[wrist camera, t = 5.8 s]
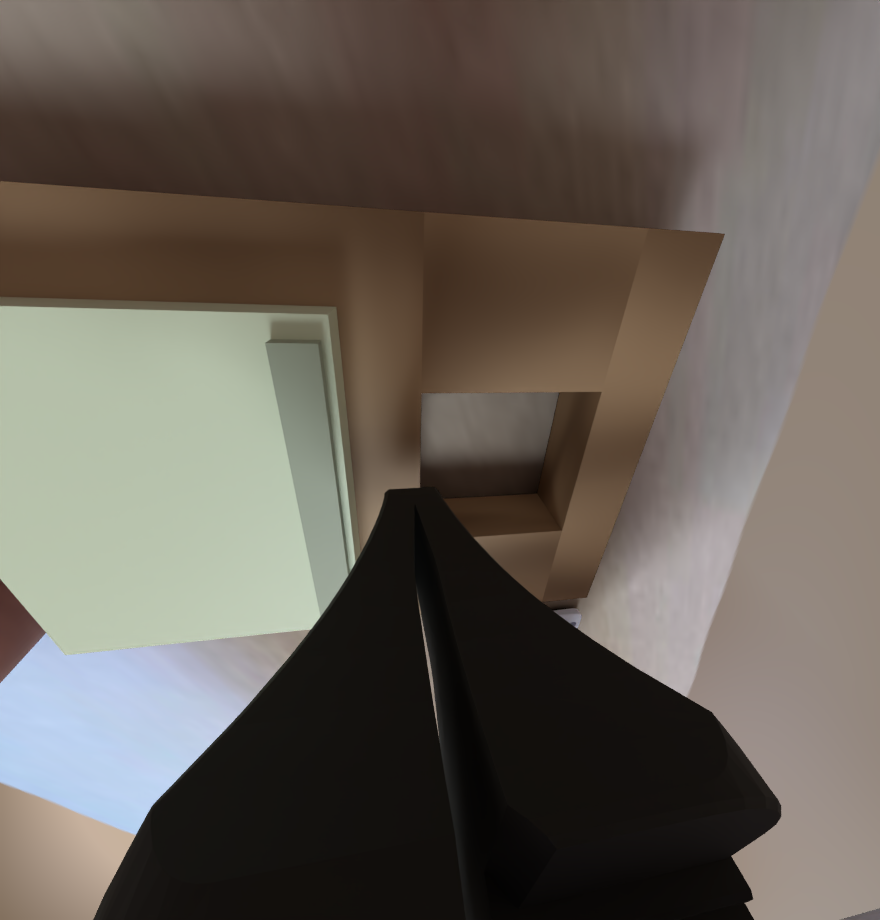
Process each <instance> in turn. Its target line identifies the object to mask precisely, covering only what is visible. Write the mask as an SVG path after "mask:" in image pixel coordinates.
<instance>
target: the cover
mask: <svg viewBox="0 0 880 920" xmlns="http://www.w3.org/2000/svg"><path fill="white" fill-rule="evenodd" d="M360 553H361V552H360V542H359V532H358V522H357V511H356V501H355V491H354V481H353V471H352V461H351V451H350V441H349V430H348V420H347V410H346V400H345V390H344V380H343V370H342V359H341V349H340V339H339V329H338V319H337V309H336V307H328V306H295V305H261V304H227V303H194V302H160V301H126V300H92V299H59V298H25V297H0V579H1V580H2V582H3V583H4V584H5V585H6V586H7V587H8V589H9V590H10V591H11V592H12V593H13V594H14V596H15V597H16V598H17V599H18V600H19V602H20V603H21V604H22V605H23V606H24V607H25V609H26V610H27V611H28V612H29V613H30V614H31V616H32V617H33V618H34V619H35V620H36V621H37V623H38V624H39V625H40V626H41V627H42V629H43V630H44V631H45V632H46V633H47V634H48V636H49V637H50V638H51V639H52V640H53V641H54V643H55V644H56V645H57V646H58V647H59V648H60V650H61V651H62V652H63V653H64V654H65V655H72V654H81V653H91V652H100V651H110V650H119V649H129V648H138V647H147V646H157V645H166V644H176V643H185V642H195V641H204V640H213V639H223V638H232V637H242V636H251V635H261V634H270V633H279V632H289V631H298V630H308V629H312V627H313V626H314V625H315V623H316V622H317V621H318V619H319V618H320V617H321V615H322V614H323V613H324V611H325V610H326V608H327V607H328V606H329V604H330V603H331V601H332V600H333V598H334V597H335V595H336V594H337V592H338V591H339V589H340V588H341V586H342V584H343V583H344V581H345V580H346V578H347V576H348V575H349V573H350V571H351V570H352V568H353V566H354V564H355V562H356V561H357V559H358V557H359V555H360Z"/></svg>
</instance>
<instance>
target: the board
mask: <svg viewBox="0 0 880 920" xmlns="http://www.w3.org/2000/svg"><path fill="white" fill-rule="evenodd" d="M724 235H725V234H721V233H707V232H694V231H680V230H666V229H652V228H638V227H625V226H611V225H597V224H583V223H570V222H556V221H542V220H528V219H515V218H501V217H487V216H473V215H460V214H446V213H432V212H418V211H405V210H391V209H377V208H363V207H349V206H336V205H322V204H308V203H294V202H281V201H267V200H253V199H239V198H226V197H212V196H198V195H184V194H171V193H157V192H143V191H129V190H116V189H102V188H88V187H74V186H60V185H47V184H33V183H19V182H5V181H0V297H25V298H59V299H92V300H126V301H160V302H194V303H227V304H261V305H295V306H328V307H336V309H337V319H338V329H339V339H340V349H341V359H342V370H343V380H344V390H345V400H346V410H347V420H348V430H349V441H350V451H351V461H352V471H353V481H354V491H355V501H356V511H357V522H358V532H359V542H360V552H362V550H363V548H364V546H365V544H366V542H367V540H368V538H369V536H370V534H371V531H372V529H373V527H374V525H375V523H376V520H377V518H378V515H379V512H380V510H381V507H382V503H383V500H384V494H385V492H386V491H387V490H388V489H404V488H420V448H421V393H509V392H560V393H559V397H558V402H557V406H556V411H555V415H554V420H553V424H552V429H551V433H550V438H549V442H548V447H547V451H546V456H545V460H544V465H543V469H542V474H541V478H540V482H539V487H538V491H537V494H522V495H503V496H485V497H467V498H448V499H444V501H445V502H446V503H447V505H448V506H449V508H450V509H451V510H452V511H453V513H454V514H455V515H456V517H457V518H458V519H459V521H460V522H461V523H462V524H463V525H464V527H465V528H466V529H467V530H468V531H469V532H470V534H471V535H472V536H473V537H474V538H475V539H476V541H477V542H478V543H479V544H480V545H481V546H482V547H483V548H484V549H485V550H486V551H487V552H488V553H489V555H490V556H491V557H492V558H493V559H494V560H495V561H496V562H497V563H498V564H499V565H500V566H501V567H502V568H503V569H504V570H506V571H507V572H508V573H509V574H510V575H511V576H512V577H513V578H514V579H515V580H516V581H518V582H519V583H520V584H521V585H522V586H523V587H524V588H525V589H527V590H528V591H529V592H530V593H531V594H533V595H534V596H535V597H536V598H537V599H539V600H540V601H541V602H548V601H557V600H567V599H576V598H586V597H587V595H588V593H589V590H590V588H591V585H592V582H593V580H594V577H595V574H596V572H597V569H598V567H599V564H600V561H601V559H602V556H603V553H604V551H605V548H606V545H607V543H608V540H609V538H610V535H611V532H612V530H613V527H614V524H615V522H616V519H617V517H618V514H619V511H620V509H621V506H622V503H623V501H624V498H625V495H626V493H627V490H628V488H629V485H630V482H631V480H632V477H633V474H634V472H635V469H636V467H637V464H638V461H639V459H640V456H641V453H642V451H643V448H644V446H645V443H646V440H647V438H648V435H649V432H650V430H651V427H652V424H653V422H654V419H655V417H656V414H657V411H658V409H659V406H660V403H661V401H662V398H663V396H664V393H665V390H666V388H667V385H668V382H669V380H670V377H671V374H672V372H673V369H674V367H675V364H676V361H677V359H678V356H679V353H680V351H681V348H682V346H683V343H684V340H685V338H686V335H687V332H688V330H689V327H690V324H691V322H692V319H693V317H694V314H695V311H696V309H697V306H698V303H699V301H700V298H701V296H702V293H703V290H704V288H705V285H706V282H707V280H708V277H709V274H710V272H711V269H712V267H713V264H714V261H715V259H716V256H717V253H718V251H719V248H720V246H721V243H722V240H723V238H724ZM417 596H418V595H417ZM418 604H419V600H418ZM419 611H420V615H421V610H420V605H419Z"/></svg>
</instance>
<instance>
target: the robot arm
mask: <svg viewBox="0 0 880 920" xmlns="http://www.w3.org/2000/svg"><path fill="white" fill-rule="evenodd" d="M417 595H418V596H417ZM418 600H419V604H418ZM419 605H420V610H421V616H422V621H423V626H424V631H425V636H426V642H427V647H428V652H429V657H430V663H431V669H432V676H433V683H434V693H435V702H436V712H437V721H438V730H437V724H436V718H435V712H434V706H433V700H432V693H431V686H430V680H429V673H428V667H427V660H426V653H425V647H424V640H423V632H422V625H421V618H420V611H419ZM581 618H582V615H581V614H580V612H579V610H578V609H575V608H571V609H562V610H551V609H550V608H549V607H547V606H546V605H545V604H543V603H542V602H541V601H540V600H539V599H537V598H536V597H535V596H534V595H533V594H531V593H530V592H529V591H528V590H527V589H525V588H524V587H523V586H522V585H521V584H520V583H519V582H518V581H516V580H515V579H514V578H513V577H512V576H511V575H510V574H509V573H508V572H507V571H506V570H504V569H503V568H502V567H501V566H500V565H499V564H498V563H497V562H496V561H495V560H494V559H493V558H492V557H491V556H490V555H489V553H488V552H487V551H486V550H485V549H484V548H483V547H482V546H481V545H480V544H479V543H478V542H477V541H476V539H475V538H474V537H473V536H472V535H471V534H470V532H469V531H468V530H467V529H466V528H465V527H464V525H463V524H462V523H461V522H460V521H459V519H458V518H457V517H456V515H455V514H454V513H453V511H452V510H451V509H450V508H449V506H448V505H447V503H446V502H445V501H444V499H443V498H442V496H441V495H440V493H439V492H438V490H437V489H436V488H435V487H423V488H404V489H388V490H387V491H386V492H385V494H384V500H383V503H382V507H381V510H380V512H379V515H378V518H377V520H376V523H375V525H374V527H373V529H372V531H371V534H370V536H369V538H368V540H367V542H366V544H365V546H364V548H363V550H362V552H361V553H360V555H359V557H358V559H357V561H356V562H355V564H354V566H353V568H352V570H351V571H350V573H349V575H348V576H347V578H346V580H345V581H344V583H343V584H342V586H341V588H340V589H339V591H338V592H337V594H336V595H335V597H334V598H333V600H332V601H331V603H330V604H329V606H328V607H327V608H326V610H325V611H324V613H323V614H322V615H321V617H320V618H319V619H318V621H317V622H316V623H315V625H314V626H313V627H312V629H311V630H310V631H309V633H308V634H307V636H306V637H305V638H304V639H303V641H302V642H301V643H300V644H299V646H298V647H297V648H296V650H295V651H294V652H293V653H292V655H291V656H290V657H289V658H288V659H287V661H286V662H285V663H284V664H283V665H282V666H281V668H280V669H279V670H278V671H277V672H276V673H275V674H274V676H273V677H272V678H271V679H270V680H269V681H268V683H267V684H266V685H265V686H264V687H263V688H262V690H261V691H260V692H259V693H258V694H257V695H256V697H255V698H254V699H253V700H252V701H251V702H250V704H249V705H248V706H247V707H246V708H245V709H244V710H243V711H242V712H241V714H240V715H239V716H238V717H237V718H236V719H235V720H234V721H233V722H232V723H231V724H230V725H229V727H228V728H227V729H226V730H225V731H224V732H223V733H222V734H221V735H220V736H219V737H218V738H217V739H216V740H215V741H214V742H213V743H212V744H211V745H210V746H209V747H208V748H207V749H206V750H205V752H204V753H203V754H202V755H201V756H200V757H199V758H198V759H197V760H196V761H195V762H194V763H193V764H192V765H191V766H190V767H189V768H188V769H187V770H186V771H185V772H184V773H183V774H182V775H181V776H180V778H179V779H178V780H177V781H176V782H175V783H174V784H173V785H172V786H171V787H170V788H169V789H168V790H167V791H166V792H165V793H164V794H163V795H162V796H161V797H160V798H159V799H158V800H157V801H156V802H155V804H154V805H153V806H152V807H151V809H150V811H149V813H148V814H147V816H146V818H145V820H144V822H143V823H142V825H141V827H140V829H139V831H138V833H137V834H136V836H135V838H134V840H133V842H132V844H131V846H130V847H129V849H128V851H127V853H126V855H125V857H124V859H123V861H122V863H121V865H120V867H119V869H118V870H117V872H116V874H115V876H114V878H113V880H112V882H111V883H110V885H109V887H108V889H107V891H106V893H105V895H104V897H103V899H102V901H101V904H100V906H99V908H98V910H97V913H96V915H95V917H94V919H93V920H754V919H753V917H752V915H751V914H750V912H749V910H748V908H747V906H746V905H745V904H744V903H745V902H748V901H750V900H752V899H753V897H752V893H751V889H750V888H749V886H748V884H747V882H746V881H745V879H744V877H743V875H742V874H741V872H740V870H739V869H738V867H737V865H736V864H735V862H734V860H733V859H732V857H731V856H732V855H733V854H735V853H736V852H738V851H739V850H741V849H742V848H744V847H745V846H747V845H748V844H750V843H751V842H753V841H754V840H756V839H757V838H758V837H760V836H761V835H763V834H765V833H766V832H767V831H768V830H770V829H771V828H772V827H773V826H775V825H776V824H777V822H778V821H779V819H780V817H781V805H780V803H779V801H778V799H777V798H776V796H775V795H774V794H773V792H772V791H771V790H770V788H769V787H768V786H767V784H766V783H765V781H764V780H763V779H762V777H761V776H760V774H759V773H758V772H757V770H756V769H755V768H754V766H753V765H752V764H751V762H750V761H749V759H748V758H747V757H746V755H745V754H744V753H743V751H742V750H741V748H740V747H739V746H738V745H737V743H736V742H735V741H734V739H733V738H732V737H731V736H730V734H729V733H728V732H727V731H726V729H725V728H724V727H723V726H722V724H721V723H720V722H719V721H718V720H717V718H716V717H715V716H714V715H713V713H712V712H710V711H709V710H707V709H705V708H704V707H702V706H700V705H698V704H697V703H695V702H693V701H691V700H690V699H688V698H687V697H685V696H683V695H681V694H680V693H678V692H676V691H675V690H673V689H671V688H669V687H668V686H666V685H664V684H663V683H661V682H659V681H657V680H656V679H654V678H652V677H651V676H649V675H647V674H646V673H644V672H642V671H640V670H639V669H637V668H635V667H634V666H632V665H631V664H629V663H627V662H626V661H624V660H623V659H621V658H620V657H618V656H617V655H615V654H614V653H612V652H611V651H609V650H608V649H606V648H605V647H603V646H602V645H600V644H598V643H597V642H595V641H594V640H592V639H591V638H590V637H588V636H587V635H585V634H584V633H582V632H581V631H580V630H578V629H577V628H578V626H579V623H580V620H581ZM438 731H439V736H438ZM439 741H440V742H439ZM841 920H880V908H879V909H876V910H872V911H869V912H866V913H862V914H858V915H855V916H851V917H848V918H844V919H841Z"/></svg>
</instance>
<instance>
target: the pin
mask: <svg viewBox="0 0 880 920" xmlns="http://www.w3.org/2000/svg"><path fill="white" fill-rule="evenodd" d="M45 633H46V632H45V631H44V630H43V629H42V627H41V626H40V625H39V624H38V623H37V621H36V620H35V619H34V618H33V617H32V616H31V614H30V613H29V612H28V611H27V610H26V609H25V607H24V606H23V605H22V604H21V603H20V602H19V600H18V599H17V598H16V597H15V596H14V594H13V593H12V592H11V591H10V590H9V589H8V587H7V586H6V585H5V584H4V583H3V582H2V580H1V579H0V683H1V682H2V681H3V679H4V678H5V677H6V676H7V675H8V674H9V673H10V672H11V671H12V670H13V668H14V667H15V666H16V665H17V664H18V663H19V662H20V661H21V660H22V659H23V657H24V656H25V655H26V654H27V653H28V652H29V651H30V650H31V649H32V648H33V647H34V645H35V644H36V643H37V642H38V641H39V640H40V639H41V638H42V637H43V636H44V634H45Z"/></svg>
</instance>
